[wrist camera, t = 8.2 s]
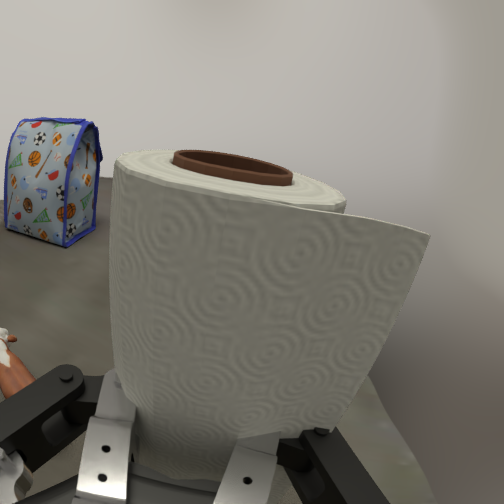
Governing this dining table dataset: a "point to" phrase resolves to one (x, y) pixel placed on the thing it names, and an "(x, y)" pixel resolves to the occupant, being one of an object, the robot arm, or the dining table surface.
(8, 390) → the bull figurine
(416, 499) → the dining table surface
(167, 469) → the paper towel roll
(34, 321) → the dining table surface
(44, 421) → the robot arm
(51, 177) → the lunch bag
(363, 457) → the dining table surface
